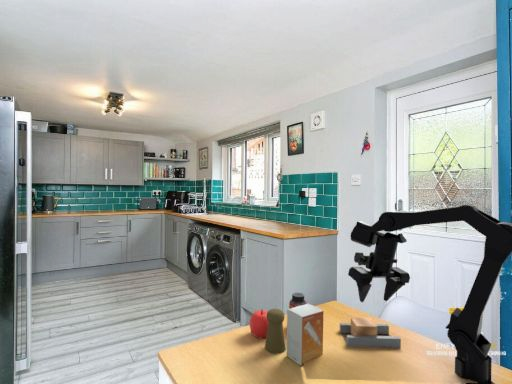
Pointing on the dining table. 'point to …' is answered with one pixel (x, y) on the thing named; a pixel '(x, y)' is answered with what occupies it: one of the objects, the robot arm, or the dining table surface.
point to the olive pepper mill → (275, 332)
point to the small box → (304, 333)
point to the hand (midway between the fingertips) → (373, 301)
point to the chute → (371, 337)
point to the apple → (259, 323)
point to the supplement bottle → (297, 300)
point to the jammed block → (363, 327)
